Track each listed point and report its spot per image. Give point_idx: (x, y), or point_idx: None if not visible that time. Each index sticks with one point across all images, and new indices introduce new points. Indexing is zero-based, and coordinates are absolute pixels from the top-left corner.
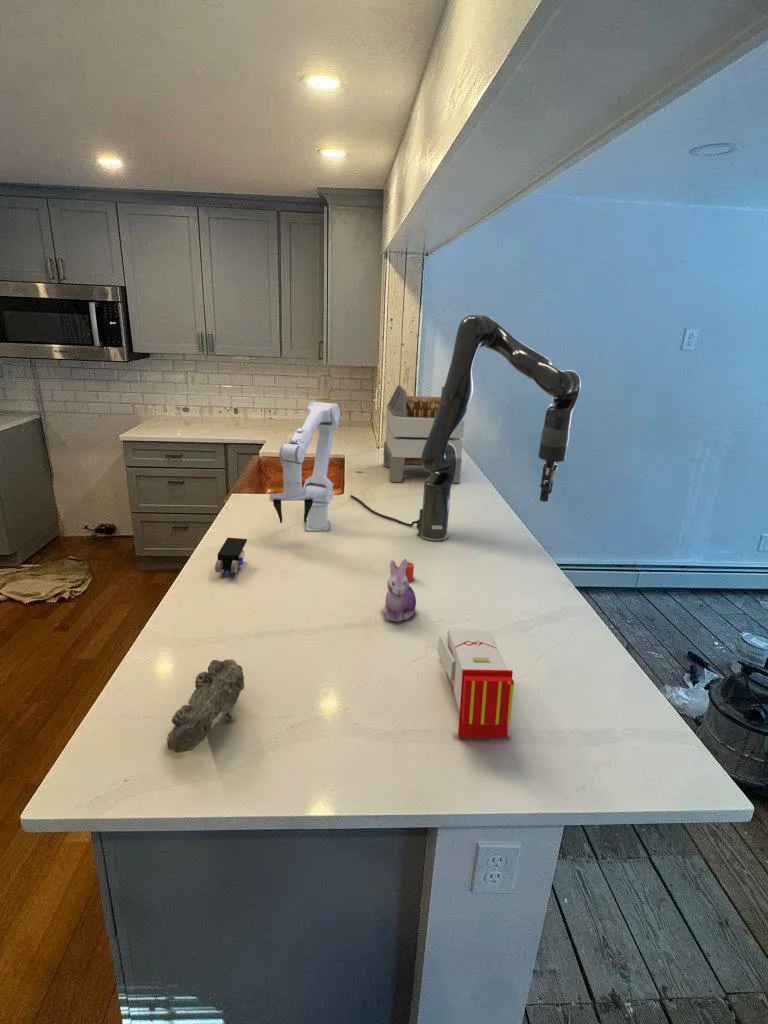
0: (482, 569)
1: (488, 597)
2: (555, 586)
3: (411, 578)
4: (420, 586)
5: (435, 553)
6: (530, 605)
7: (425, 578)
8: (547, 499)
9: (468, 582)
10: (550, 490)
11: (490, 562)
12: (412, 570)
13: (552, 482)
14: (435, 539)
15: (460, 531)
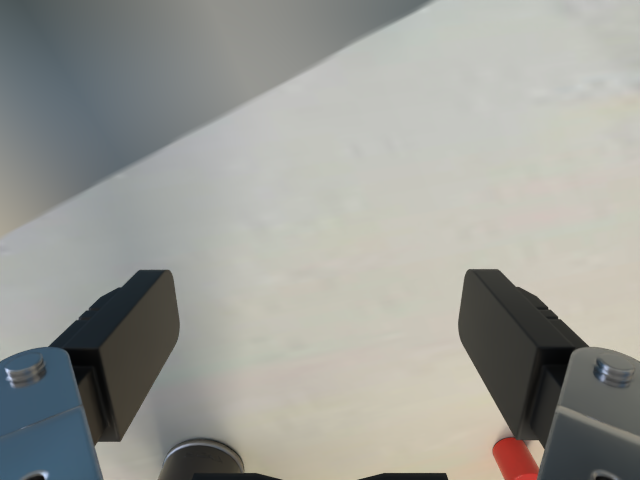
0: (369, 307)
1: (555, 255)
2: (399, 64)
3: (521, 444)
4: None
5: (321, 435)
6: (576, 129)
7: (490, 416)
8: (503, 278)
9: None
10: (160, 291)
11: (305, 297)
12: (529, 463)
13: (104, 346)
14: (237, 460)
15: None
